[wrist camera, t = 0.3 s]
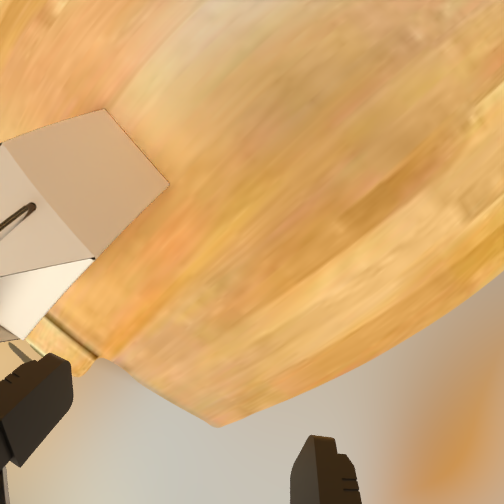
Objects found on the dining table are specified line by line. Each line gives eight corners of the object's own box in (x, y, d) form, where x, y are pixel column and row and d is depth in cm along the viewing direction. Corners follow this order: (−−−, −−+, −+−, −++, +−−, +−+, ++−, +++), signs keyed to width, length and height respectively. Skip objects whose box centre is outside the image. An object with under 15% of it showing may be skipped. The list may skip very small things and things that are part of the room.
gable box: (84, 268, 46) (-19, 400, 22) (33, 209, 42) (-91, 316, 18) (172, 183, 37) (17, 355, 13) (105, 106, 33) (-101, 191, 9)
